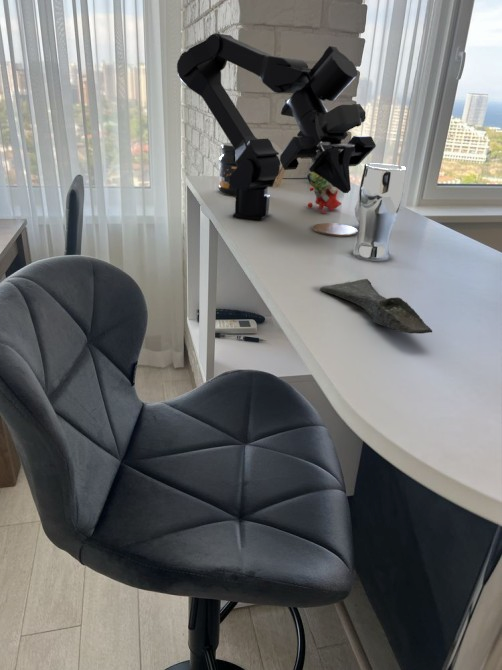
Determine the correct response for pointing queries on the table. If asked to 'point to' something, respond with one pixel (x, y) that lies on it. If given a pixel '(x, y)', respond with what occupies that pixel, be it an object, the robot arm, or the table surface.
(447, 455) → the table surface
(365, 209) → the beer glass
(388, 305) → the tool
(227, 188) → the supplement container
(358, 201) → the white sphere
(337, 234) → the coaster
